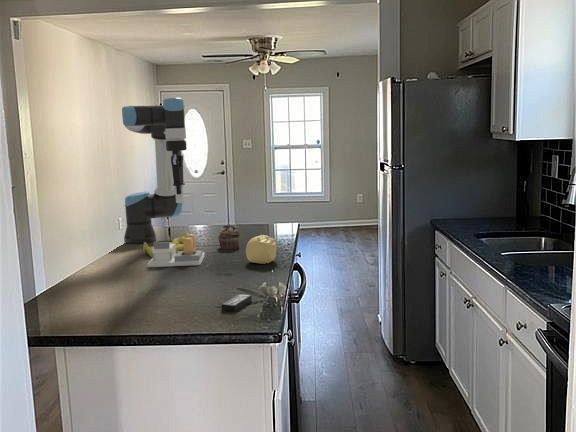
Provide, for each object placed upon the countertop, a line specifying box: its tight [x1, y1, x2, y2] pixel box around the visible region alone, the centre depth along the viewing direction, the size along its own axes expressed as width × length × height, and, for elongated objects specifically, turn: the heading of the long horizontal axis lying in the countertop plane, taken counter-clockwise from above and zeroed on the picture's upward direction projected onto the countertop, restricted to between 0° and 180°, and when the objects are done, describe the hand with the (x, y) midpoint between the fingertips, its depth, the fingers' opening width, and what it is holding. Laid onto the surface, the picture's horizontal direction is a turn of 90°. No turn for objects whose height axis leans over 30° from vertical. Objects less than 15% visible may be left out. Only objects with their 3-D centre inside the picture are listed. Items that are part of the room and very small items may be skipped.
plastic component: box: [142, 232, 189, 258], centre depth 240 cm, size 20×7×10 cm
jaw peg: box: [183, 238, 193, 255], centre depth 220 cm, size 4×4×8 cm
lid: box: [152, 241, 176, 253], centre depth 222 cm, size 10×7×4 cm
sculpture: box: [245, 234, 278, 265], centre depth 215 cm, size 12×12×11 cm
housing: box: [147, 233, 206, 268], centre depth 222 cm, size 16×20×10 cm
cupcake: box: [217, 224, 241, 250], centre depth 246 cm, size 10×10×10 cm
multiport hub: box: [220, 293, 253, 313], centre depth 162 cm, size 4×11×2 cm, turn 157°
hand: (180, 202), depth 212 cm, fingers closed
